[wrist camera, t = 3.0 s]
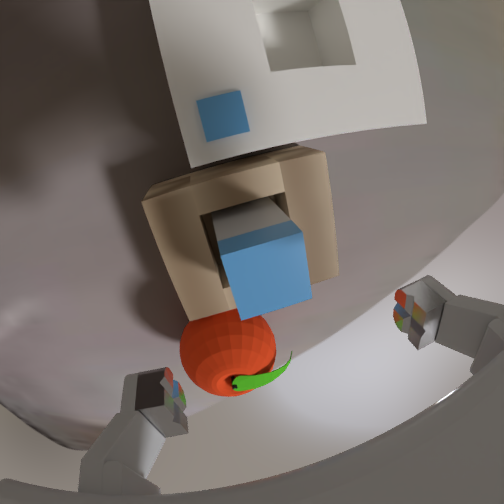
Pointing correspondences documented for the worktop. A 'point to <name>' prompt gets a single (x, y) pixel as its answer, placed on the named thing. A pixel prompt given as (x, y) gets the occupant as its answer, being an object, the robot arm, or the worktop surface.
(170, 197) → the holster
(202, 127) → the port
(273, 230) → the plug
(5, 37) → the worktop surface
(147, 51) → the worktop surface
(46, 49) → the worktop surface
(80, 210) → the worktop surface
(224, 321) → the clementine
